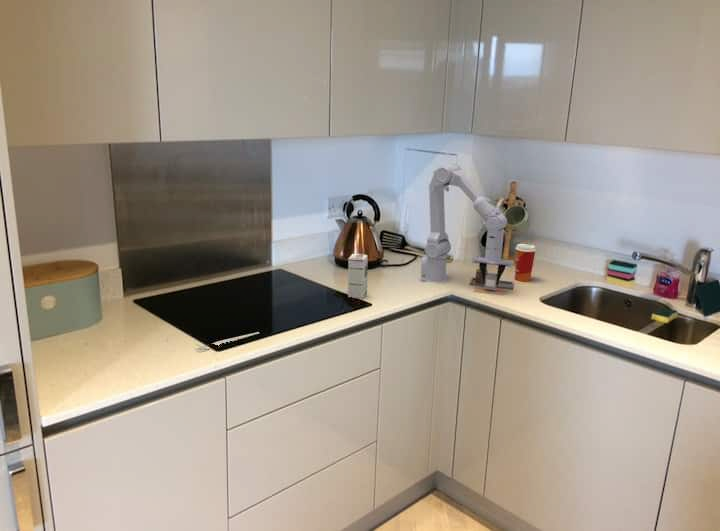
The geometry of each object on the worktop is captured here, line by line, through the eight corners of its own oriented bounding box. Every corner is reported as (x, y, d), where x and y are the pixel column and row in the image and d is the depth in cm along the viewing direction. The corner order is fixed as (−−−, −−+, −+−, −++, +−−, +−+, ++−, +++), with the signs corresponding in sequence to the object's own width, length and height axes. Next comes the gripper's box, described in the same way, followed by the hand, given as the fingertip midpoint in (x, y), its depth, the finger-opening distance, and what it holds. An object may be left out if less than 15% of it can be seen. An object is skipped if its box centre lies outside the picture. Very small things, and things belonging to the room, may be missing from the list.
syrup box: (364, 299, 204) (365, 258, 200) (347, 297, 205) (348, 257, 201) (367, 294, 210) (368, 254, 206) (350, 292, 211) (351, 253, 207)
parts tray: (469, 286, 222) (469, 282, 222) (471, 280, 229) (471, 277, 229) (512, 290, 218) (512, 287, 218) (513, 284, 225) (513, 281, 225)
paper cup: (516, 276, 236) (519, 242, 232) (535, 280, 231) (539, 245, 228) (509, 281, 229) (512, 246, 225) (528, 285, 225) (532, 249, 221)
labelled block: (484, 288, 214) (485, 275, 213) (485, 285, 218) (486, 272, 217) (495, 290, 213) (496, 276, 212) (496, 286, 217) (497, 273, 216)
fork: (262, 336, 173) (262, 330, 172) (200, 353, 159) (200, 347, 159) (256, 333, 175) (256, 327, 174) (194, 349, 161) (194, 343, 161)
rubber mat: (473, 292, 214) (473, 291, 214) (475, 287, 221) (475, 285, 221) (504, 296, 211) (505, 294, 211) (505, 290, 218) (505, 289, 218)
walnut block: (474, 284, 223) (476, 271, 222) (475, 281, 227) (477, 268, 225) (485, 285, 222) (486, 272, 221) (486, 282, 226) (487, 269, 224)
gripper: (472, 248, 210) (469, 284, 213) (514, 252, 206) (510, 289, 210) (474, 243, 216) (471, 279, 220) (515, 247, 212) (511, 283, 216)
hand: (490, 283), depth 215 cm, fingers closed on labelled block, 4 cm apart
